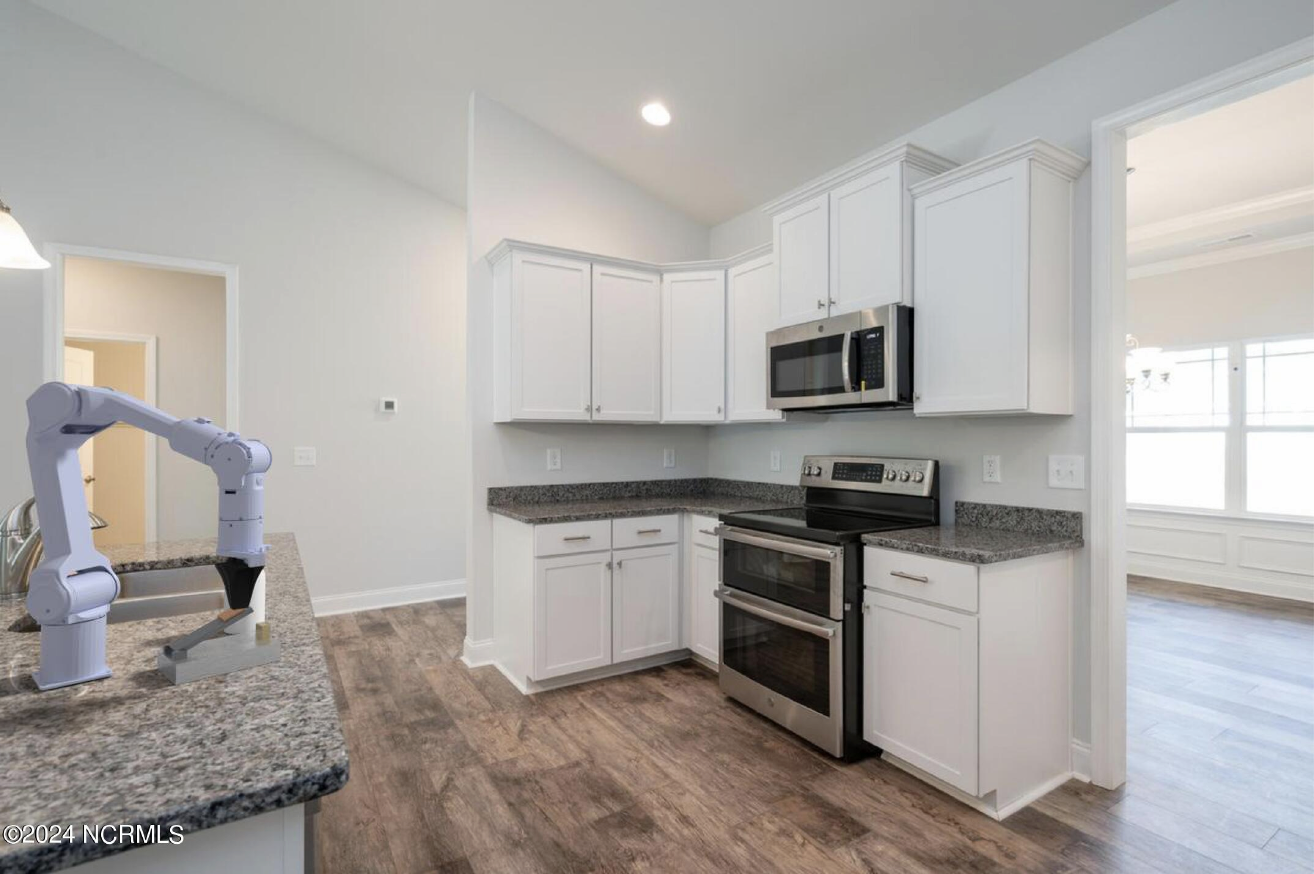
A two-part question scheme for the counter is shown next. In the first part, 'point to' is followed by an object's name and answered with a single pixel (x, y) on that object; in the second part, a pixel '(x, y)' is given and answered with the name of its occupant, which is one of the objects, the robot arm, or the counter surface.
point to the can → (257, 605)
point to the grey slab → (211, 628)
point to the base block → (219, 655)
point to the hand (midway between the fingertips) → (239, 608)
